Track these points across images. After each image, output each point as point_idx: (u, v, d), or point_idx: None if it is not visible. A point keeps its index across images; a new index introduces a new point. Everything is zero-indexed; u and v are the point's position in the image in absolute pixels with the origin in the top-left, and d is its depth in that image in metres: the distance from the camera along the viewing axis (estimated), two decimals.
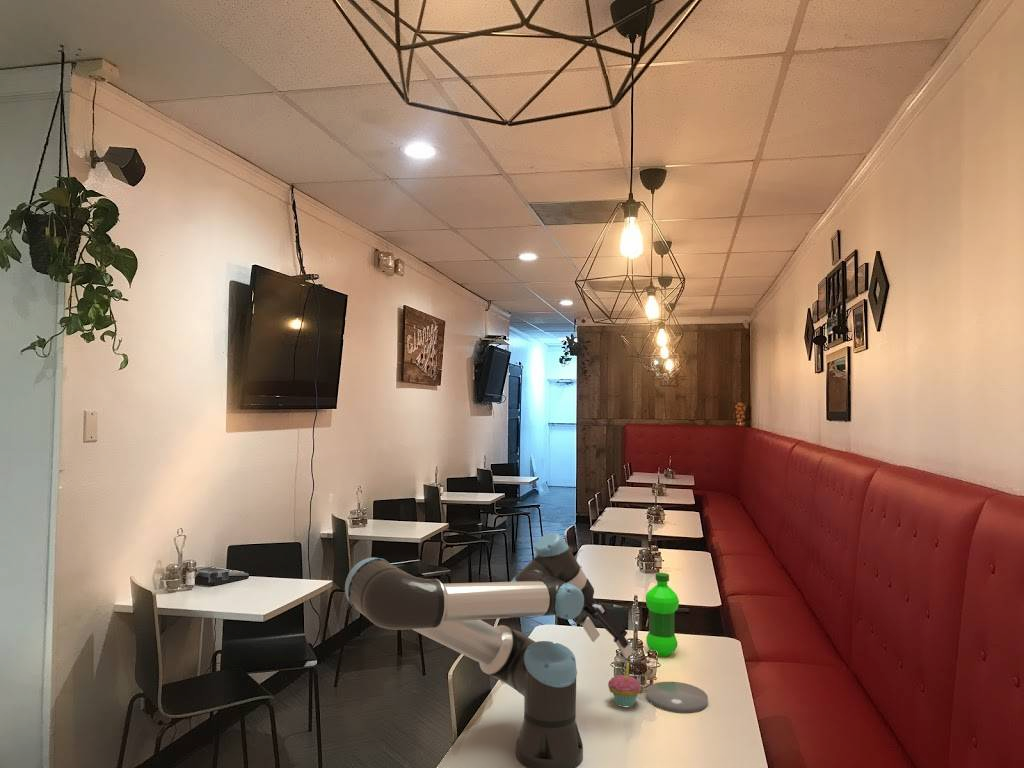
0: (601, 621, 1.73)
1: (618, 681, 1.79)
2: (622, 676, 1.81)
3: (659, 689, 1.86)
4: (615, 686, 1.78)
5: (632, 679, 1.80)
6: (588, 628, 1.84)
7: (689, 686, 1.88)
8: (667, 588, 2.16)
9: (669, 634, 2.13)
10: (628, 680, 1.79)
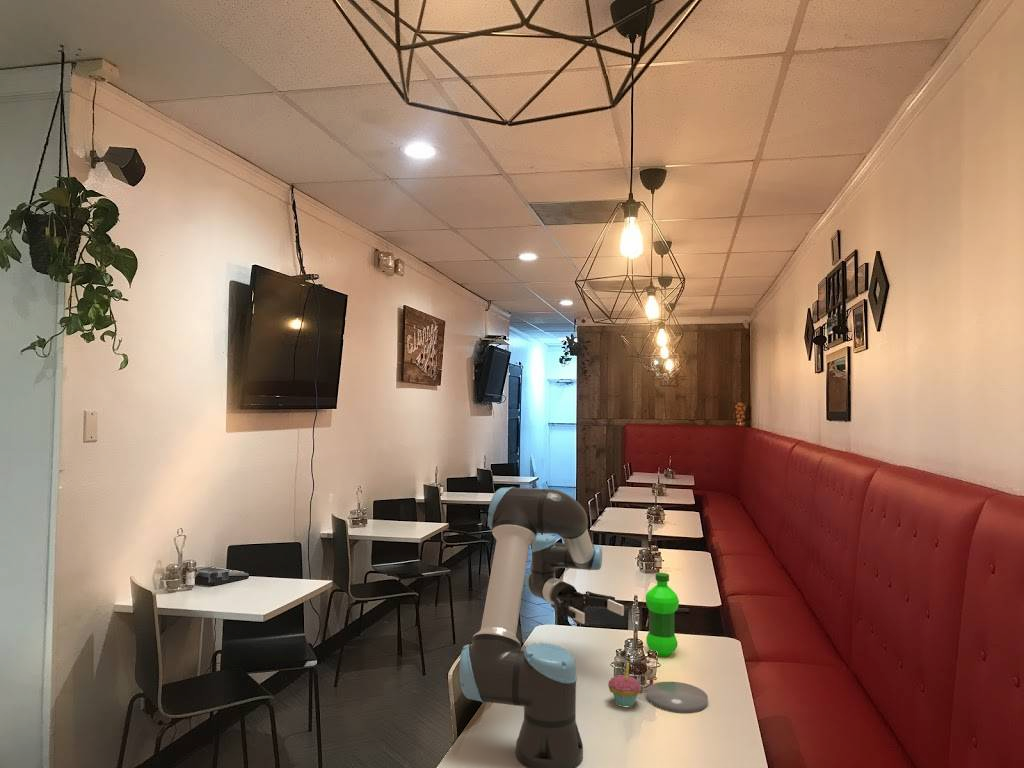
0: None
1: (618, 681, 1.79)
2: (622, 676, 1.81)
3: (659, 689, 1.86)
4: (615, 686, 1.78)
5: (632, 679, 1.80)
6: None
7: (689, 686, 1.88)
8: (667, 588, 2.16)
9: (669, 634, 2.13)
10: (628, 680, 1.79)
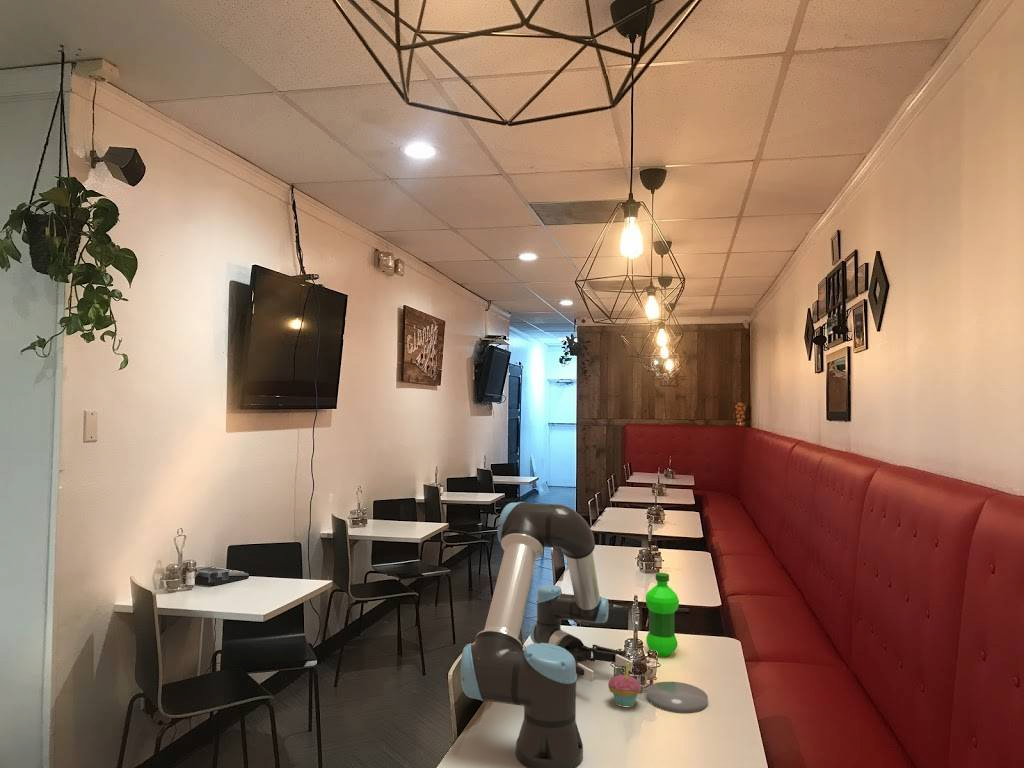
0: None
1: (618, 681, 1.79)
2: (622, 676, 1.81)
3: (659, 689, 1.86)
4: (615, 686, 1.78)
5: (632, 679, 1.80)
6: None
7: (689, 686, 1.88)
8: (667, 588, 2.16)
9: (669, 634, 2.13)
10: (628, 680, 1.79)
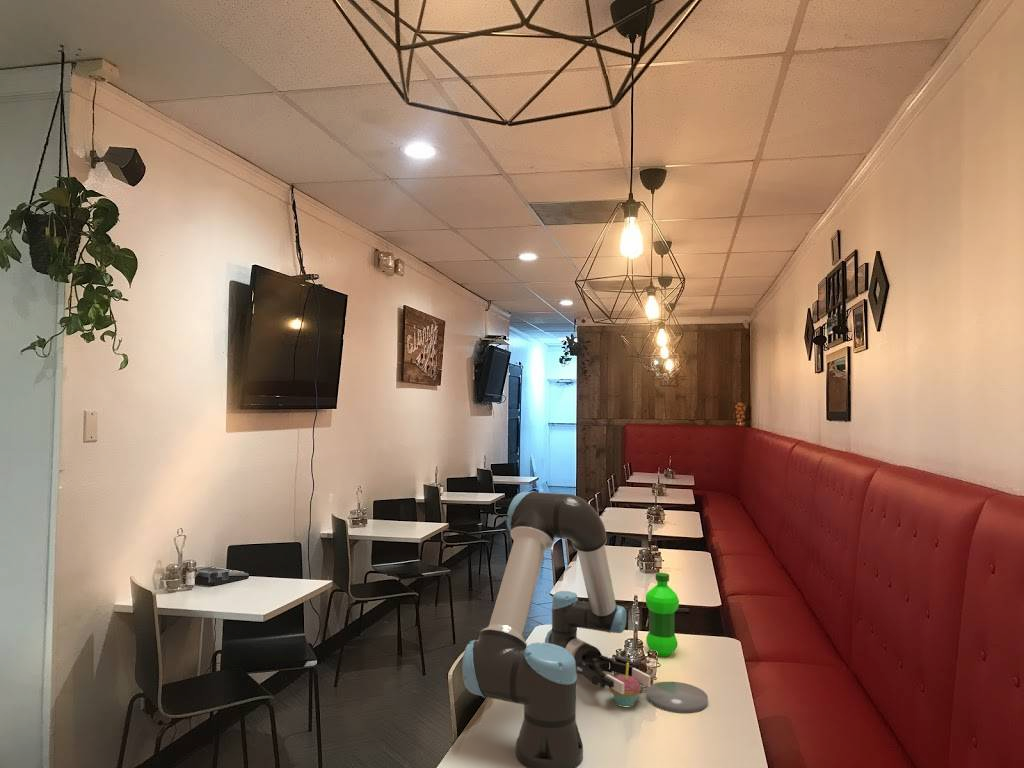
0: None
1: None
2: (622, 676, 1.81)
3: (659, 689, 1.86)
4: None
5: (632, 679, 1.80)
6: None
7: (689, 686, 1.88)
8: (667, 588, 2.15)
9: (669, 634, 2.13)
10: (628, 680, 1.79)
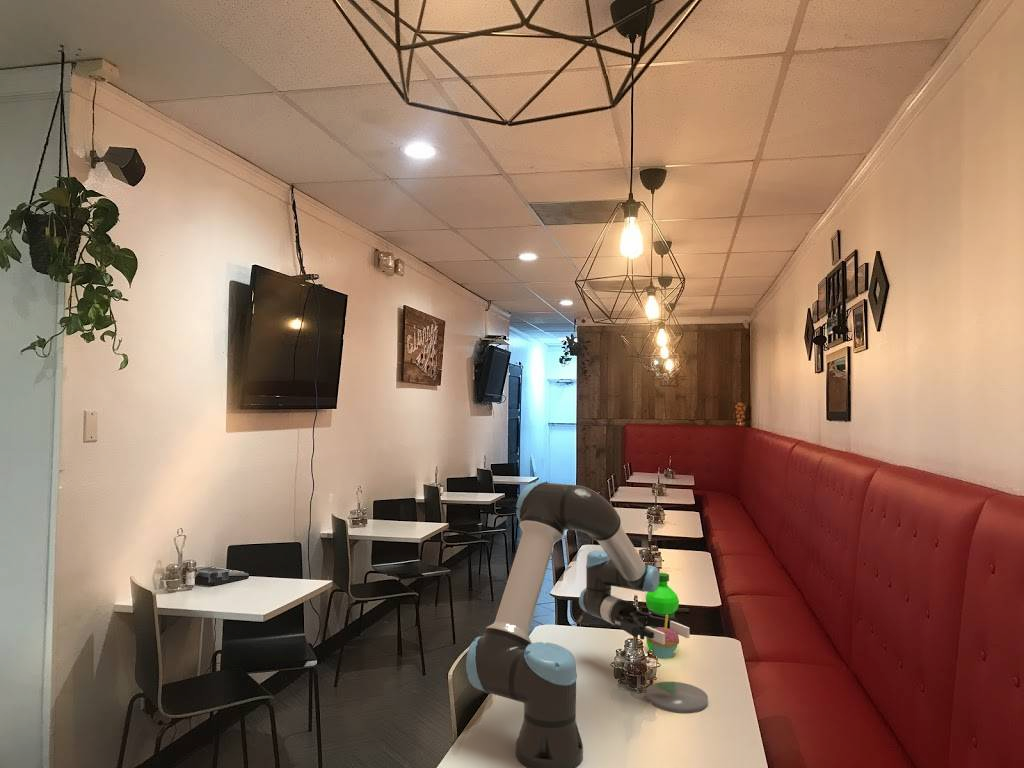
0: None
1: None
2: (661, 628, 1.84)
3: (659, 689, 1.86)
4: None
5: (671, 631, 1.83)
6: None
7: (689, 686, 1.88)
8: (667, 588, 2.16)
9: None
10: (667, 631, 1.82)
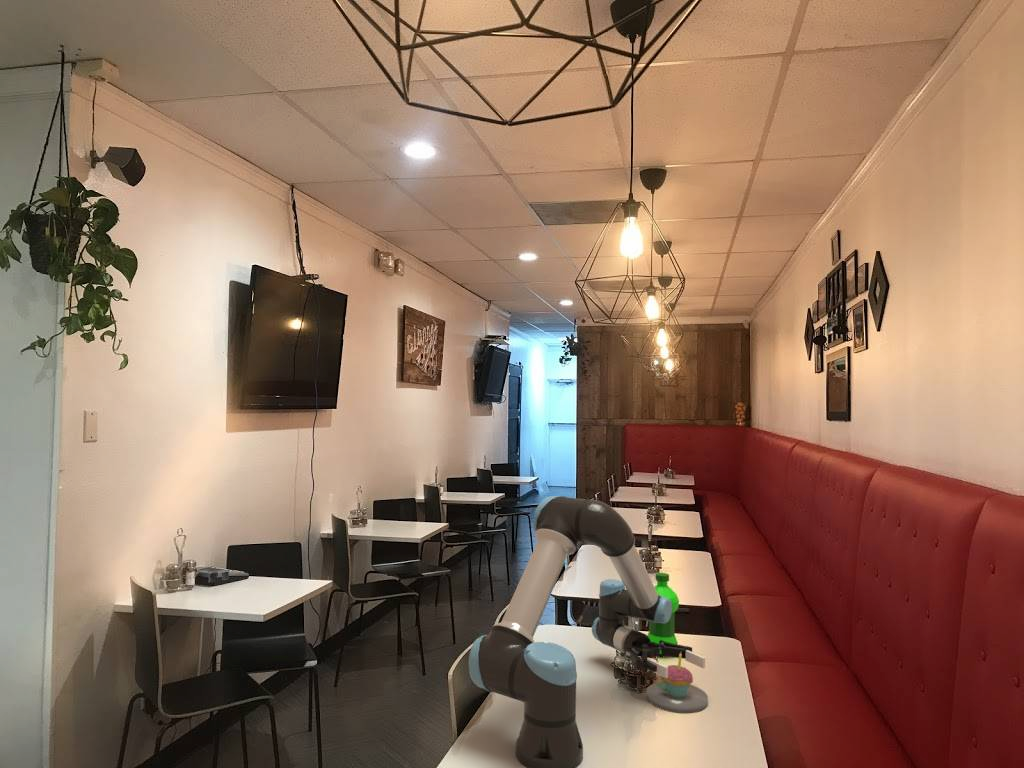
0: None
1: (671, 671, 1.82)
2: (674, 667, 1.84)
3: (659, 689, 1.86)
4: (668, 676, 1.81)
5: (684, 669, 1.83)
6: None
7: (689, 686, 1.88)
8: (667, 588, 2.16)
9: (669, 634, 2.13)
10: (681, 670, 1.82)
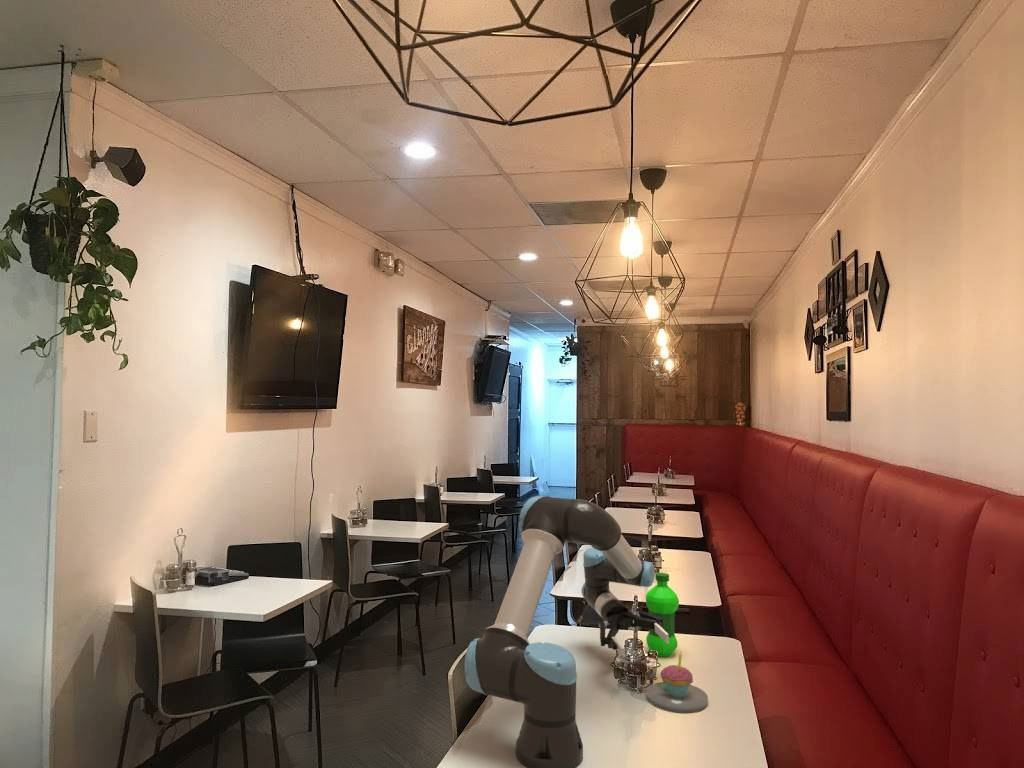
0: None
1: (671, 671, 1.82)
2: (674, 666, 1.84)
3: (659, 689, 1.86)
4: (668, 676, 1.81)
5: (684, 669, 1.83)
6: None
7: (689, 686, 1.88)
8: (667, 588, 2.16)
9: (669, 634, 2.13)
10: (681, 670, 1.82)
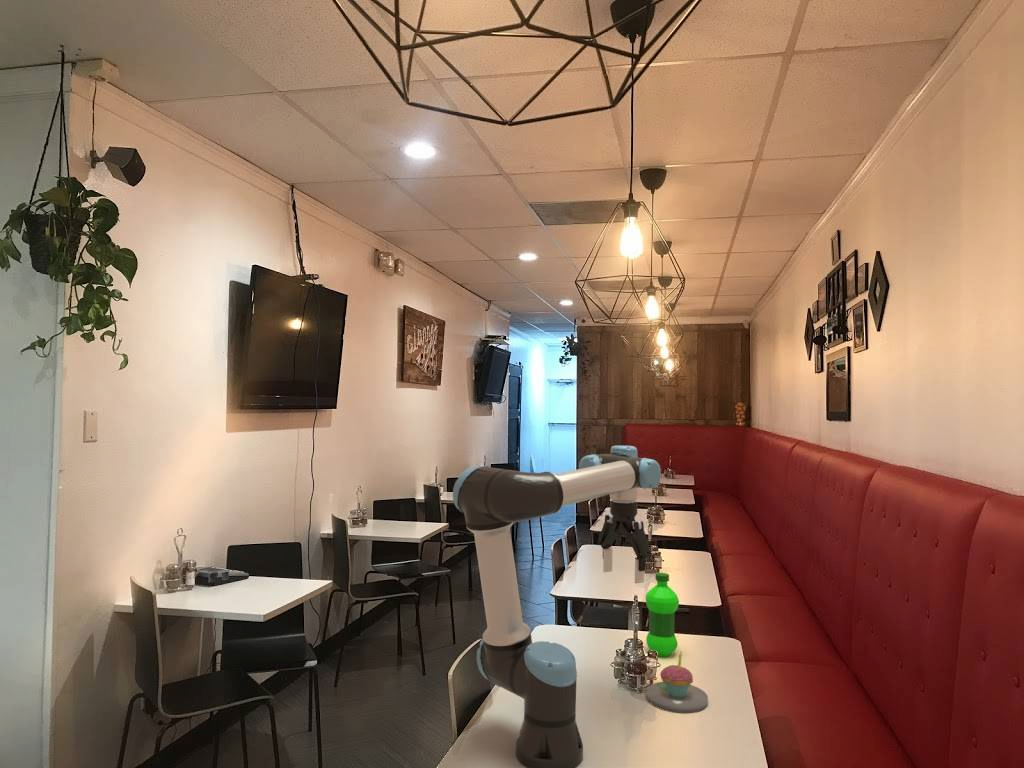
0: (632, 538, 1.87)
1: (671, 671, 1.82)
2: (674, 667, 1.84)
3: (659, 689, 1.86)
4: (668, 676, 1.81)
5: (684, 669, 1.83)
6: (607, 557, 1.96)
7: (689, 686, 1.88)
8: (667, 588, 2.16)
9: (669, 634, 2.13)
10: (681, 670, 1.82)
